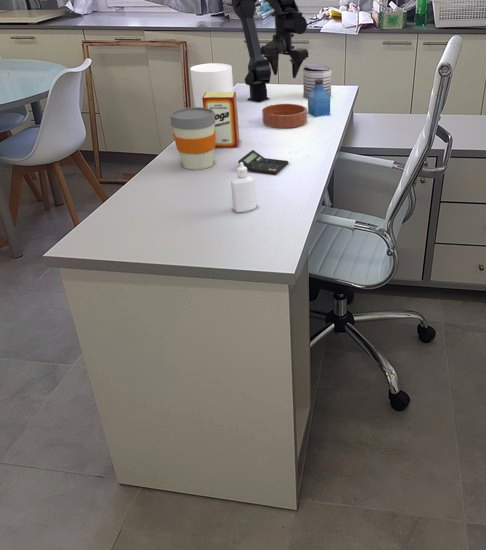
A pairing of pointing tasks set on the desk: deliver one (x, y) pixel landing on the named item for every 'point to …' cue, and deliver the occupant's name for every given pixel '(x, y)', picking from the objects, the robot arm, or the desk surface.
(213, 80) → the canister
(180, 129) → the reusable coffee cup
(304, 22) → the robot arm
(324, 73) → the can
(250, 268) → the desk surface
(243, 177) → the eye dropper bottle
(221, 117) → the baking soda box
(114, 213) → the desk surface
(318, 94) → the perfume bottle
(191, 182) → the desk surface
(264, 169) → the calculator
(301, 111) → the bowl
